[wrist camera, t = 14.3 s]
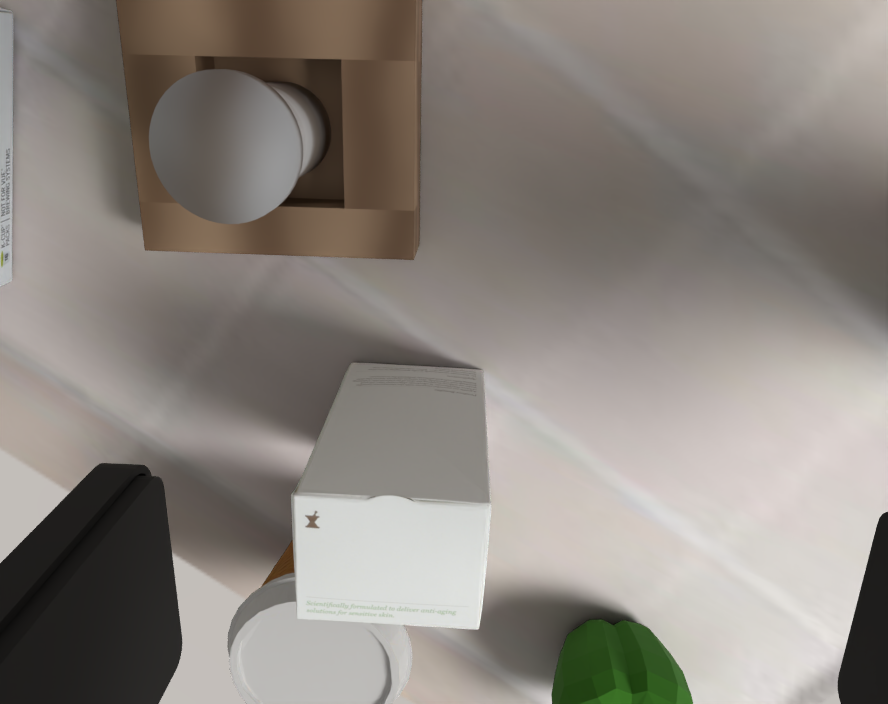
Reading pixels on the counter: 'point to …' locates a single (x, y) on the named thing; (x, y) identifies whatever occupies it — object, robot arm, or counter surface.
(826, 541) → the counter surface
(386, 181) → the wooden tray
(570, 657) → the bell pepper
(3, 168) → the tea box
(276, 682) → the disposable coffee cup
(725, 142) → the counter surface
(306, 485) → the skincare box
